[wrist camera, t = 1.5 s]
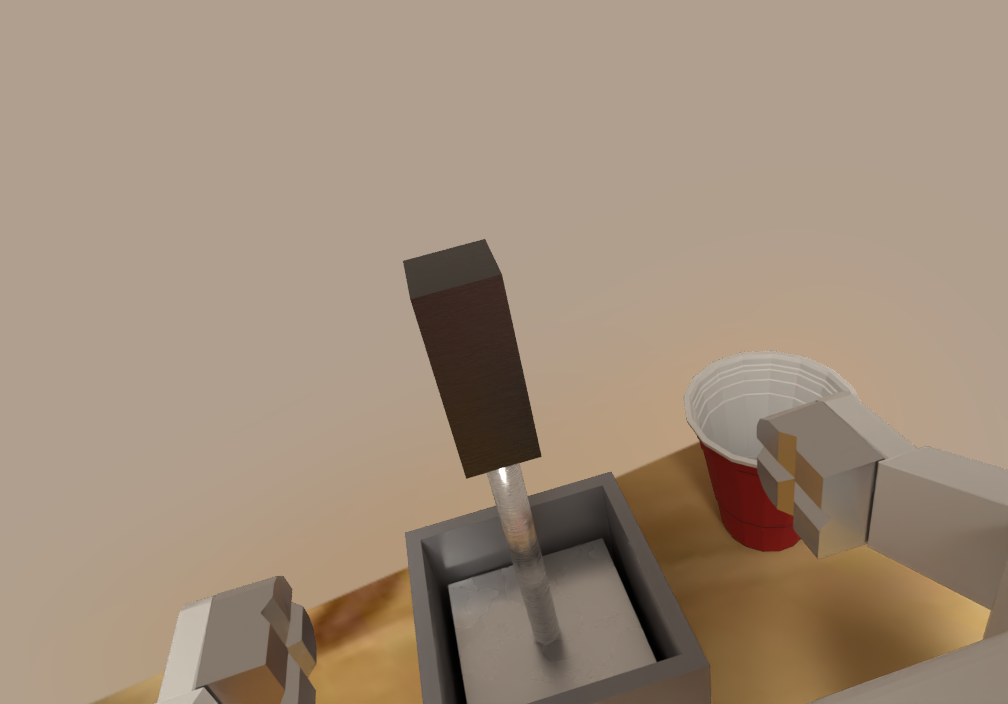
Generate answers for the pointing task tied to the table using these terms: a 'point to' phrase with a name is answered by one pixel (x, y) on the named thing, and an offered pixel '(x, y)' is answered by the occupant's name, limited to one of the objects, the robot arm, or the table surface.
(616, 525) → the box
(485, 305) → the plunger
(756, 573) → the table surface
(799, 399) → the plastic cup
